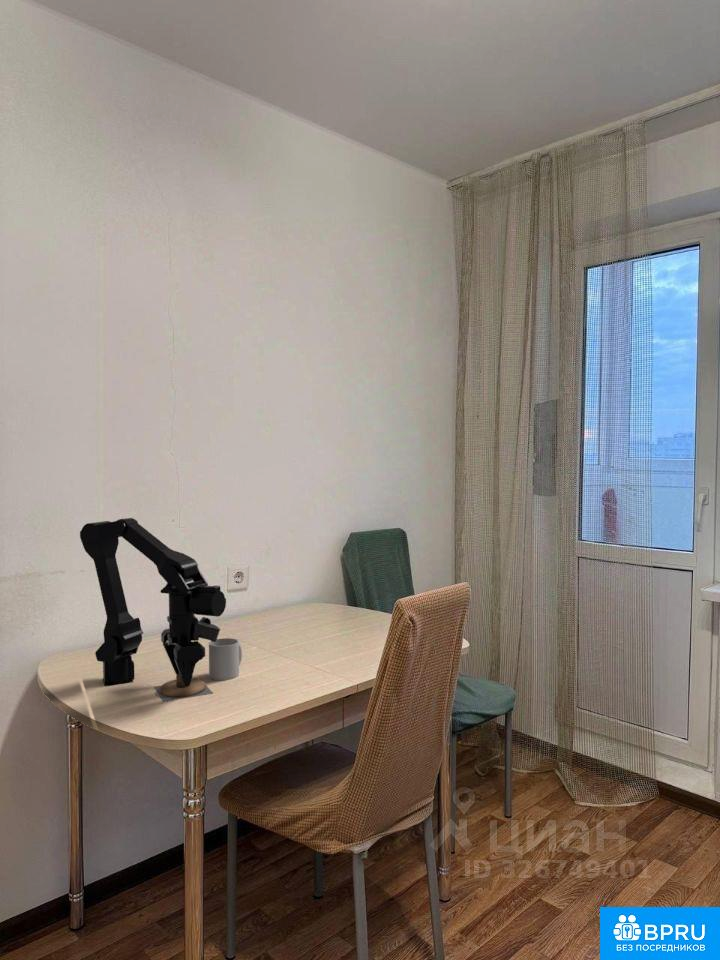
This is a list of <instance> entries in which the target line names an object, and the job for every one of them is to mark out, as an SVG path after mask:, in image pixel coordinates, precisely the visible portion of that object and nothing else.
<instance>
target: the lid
mask: <svg viewBox="0 0 720 960" xmlns="http://www.w3.org/2000/svg"><path fill="white" fill-rule="evenodd" d="M175 675H176V676H175V677H176V678H175V679H174V680H170V681H166V682H165V683H163V684H161V685H162V686H161V685H160V686H161V694H162V695H164V696H167V697H175V698H179V697H189V696H193V695H197V694H199V693H201V692H203V691H204V690H205V685H206V682H205V681H203V679H201V680H200V679H198V678H192V679H191V683H190V685H189V686H185V685H184V682H183V680H182V677H181V675H180V674H175ZM189 698H190V697H189Z"/></svg>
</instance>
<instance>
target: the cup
mask: <svg viewBox="0 0 720 960" xmlns="http://www.w3.org/2000/svg"><path fill="white" fill-rule="evenodd" d="M242 659H243V649H242V646H241V644H240V641H239V640H238V639H236V638H231V637H224V638H222V637H221V638H217V640H216V642H212V641H211V640H209V641H208V666H209V667H208V670H209V671H208V674H209V675H208V676H209V679H211V680H214V681H229V680H234V679H237V678H238V677H239V675H240V668H239V667H240V665H241V663H242Z"/></svg>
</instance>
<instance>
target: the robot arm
mask: <svg viewBox="0 0 720 960" xmlns="http://www.w3.org/2000/svg"><path fill="white" fill-rule="evenodd" d="M79 538H80V541H81V543H82V547H83V549H84V552H86V553H87V555H88V556H89V557H90V558H91V559H92V560H93V563H94V566H95V570H96V571H95V572H96V575H97V580H98V584H99V588H100V593H101V597H102V601H103V605H104V609H105V610H104V611H105V615H106V621H105V625H104V628H103V639H104V640H103V643H102V644H101V645H100V646H99V647H98V648H97V649H96V651H95V655H94V656H95V658H96V661H97V662H102V679H101V681H102V683H103V685H104V687H111V686H117V685H119V686H120V685H126V684H131V683H134V679H135V662H134V660H133V658H132V655H136V654H137V653H138V650H139V646H140V644H141V642H142V641H143V634H144V631H143V630H142V629H143V628H142V626H141V620H140V618H139V617H135V618H134V617H133V616H132V615H131V613H129V610H128V606H127V601H126V597H125V593H124V587H123V584H122V579H121V575H120V570H119V567H118V566H119V565H118V562H117V558H116V554H117V550H118V547H119V545H120V543H119V538H123V539H124V540H125V541H126V542H128V543H129V544H130V545H131V546H133V547H134V548H135V549H136V550H137V551H139V553H141V554H143V555H144V556H145V557H146V558H147V559H149V560H150V561H151V562H152V563H153V564H154V565H155V566H156V569H157V572H158V574H159V575H160V576H161V577H162V578H163V580H164V581H165V582H166V585H165V586H163V588H162V589H160V591H159V592H160V593H161V594H168V616H166V619H167V622H168V628H165V629H163V631H162V632H161V633H160V635H161V636H160V638H161V639H160V642H161V643H162V646H163V648H164V651H165V653H166V655H167V657H168V659H169V662H170V664H171V665H172V669H173V670H174V673H175V675H177V674H180V675H181V677H182V680H183V682H184V685H185V686H189V685H190V683H191V679H193V675H194V670H195V668H196V665H197V663H199V662H200V661H202V660H203V659H204V658H205V657H206V648H205V646H203V644H202V643H200V642H199V640H200V639H203V640H208V641H212V642H216V640H217V639H218V637H219V634H220V631H221V628H219V627H218V626H217V625H215V624H214V623H212V622H211V619H210V618H208V617H216V618H217V617H218V618H219V617H220V616H222V615H223V613H224V611H225V610H226V607H227V598H226V597H225V594H224V592H223V591H222V590H221V585H209V583H208V582H207V580H206V578H205V577H204V575H203V574H202V572H201V571H200V568H199V564H198V562H197V561H196V560H195V559H194V558H193V557H191V556H189V555H187V554H185V553H183V552H179V551H177V550H173V549H172V548H170V547H168V546H167V545H166V544H165V543H163V542H162V540H160V539H159V538H157V537H156V536H155V535H153V534H152V533H151V532H149V531H148V530H147V529H146V528H145V527H143V526H142V525H141V524H140V523H139V522H138V521H137V519H135V518H133V517H128V518H119V519H117V520H114V521H109V520H104V521H103V520H102V521H97V522H95V521H94V522H89V523H88V522H87V523H86V524H84V525H83V526H82V528H81V530H80V531H79ZM195 615H197V616H203V617H201V618H200V619H198V618H197V616H195ZM205 616H208V617H205Z"/></svg>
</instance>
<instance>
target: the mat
mask: <svg viewBox="0 0 720 960" xmlns="http://www.w3.org/2000/svg"><path fill="white" fill-rule="evenodd" d="M199 680H202V679H201V678H200V679H199ZM162 685H163V684H160V685H157V686H156V685H155V686H154V688H155V690H156V693H157V694H158V695H159V696H160V698H161V700H162V701H163V703H165V702H170V701H171V702H172V701H177V700H183V699H188V698H194V697H200V696H206V695H213V694H214V692H213V691H211V689H210V688H209V687H208V685H206V684H205V690H204V691H203V692H201V693H199V694H197V695H193V696H189V697H179V698H175V697H167V696H164V695H162V694H161V686H162Z"/></svg>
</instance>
